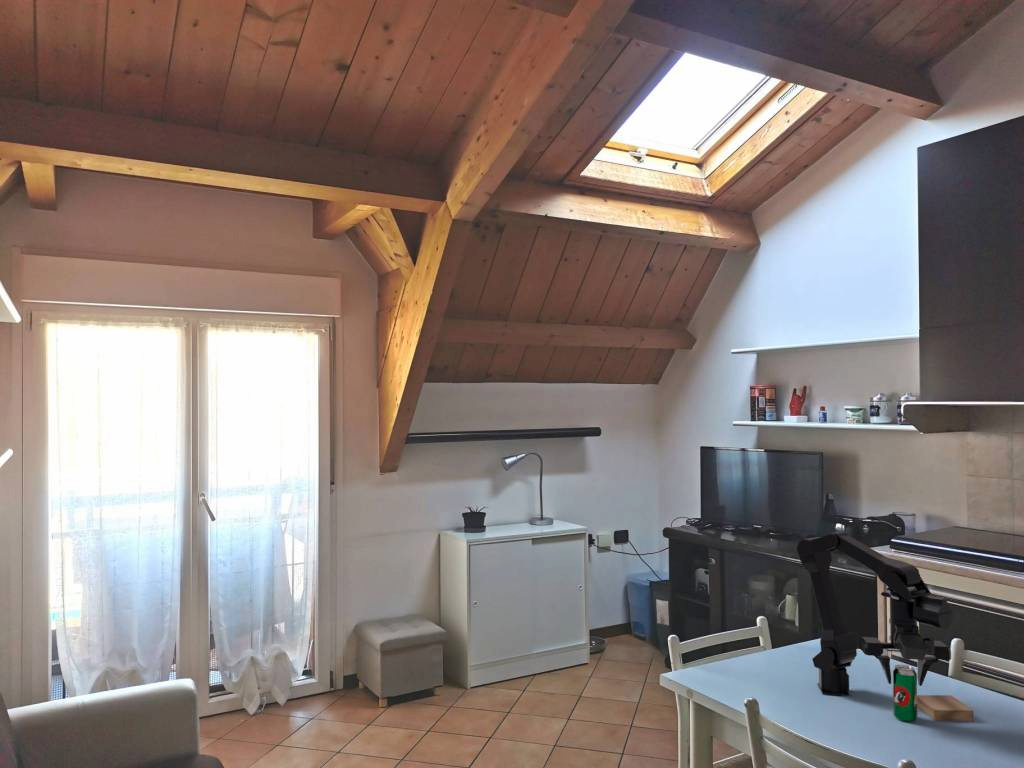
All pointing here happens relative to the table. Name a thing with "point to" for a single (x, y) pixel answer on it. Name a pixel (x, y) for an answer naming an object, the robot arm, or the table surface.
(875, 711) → the table surface
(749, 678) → the table surface
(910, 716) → the soda can
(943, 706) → the tan block
